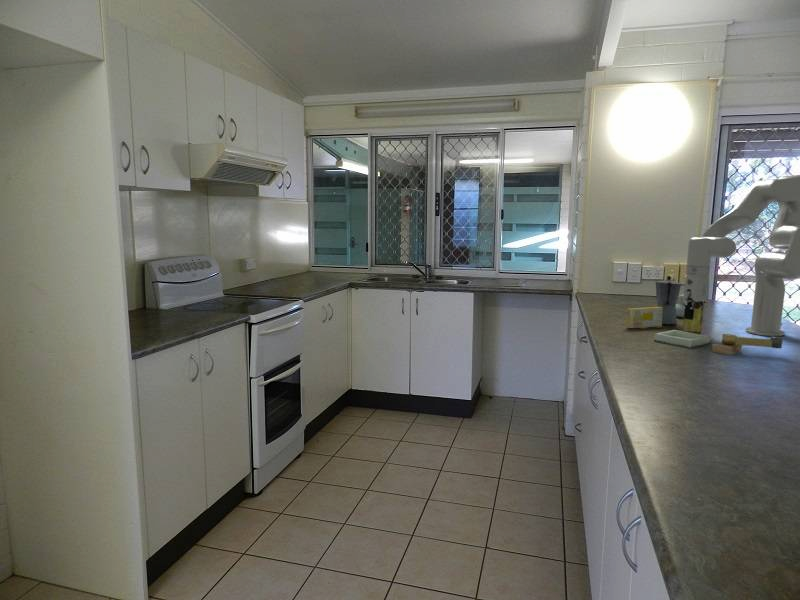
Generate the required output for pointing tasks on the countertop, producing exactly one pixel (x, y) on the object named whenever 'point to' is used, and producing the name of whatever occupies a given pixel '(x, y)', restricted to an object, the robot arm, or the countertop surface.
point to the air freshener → (680, 307)
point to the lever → (752, 341)
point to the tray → (682, 338)
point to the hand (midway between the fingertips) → (693, 317)
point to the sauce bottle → (695, 319)
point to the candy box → (644, 317)
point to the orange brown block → (726, 348)
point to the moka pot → (667, 299)
